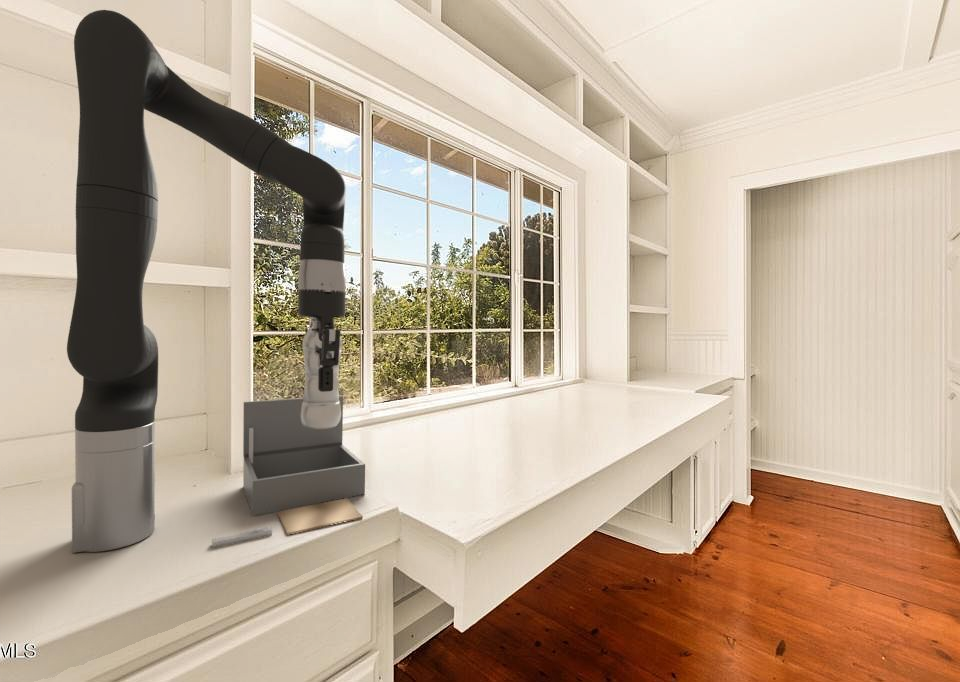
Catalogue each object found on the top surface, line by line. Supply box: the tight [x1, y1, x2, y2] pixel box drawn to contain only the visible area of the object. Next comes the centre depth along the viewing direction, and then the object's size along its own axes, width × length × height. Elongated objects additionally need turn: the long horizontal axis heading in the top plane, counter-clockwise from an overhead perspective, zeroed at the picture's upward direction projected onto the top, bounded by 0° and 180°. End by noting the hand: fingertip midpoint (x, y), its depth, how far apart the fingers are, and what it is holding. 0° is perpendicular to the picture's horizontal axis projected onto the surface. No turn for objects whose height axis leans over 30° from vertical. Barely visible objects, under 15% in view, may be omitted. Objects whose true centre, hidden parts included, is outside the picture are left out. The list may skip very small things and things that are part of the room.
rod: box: [211, 526, 273, 549], centre depth 67 cm, size 8×1×1 cm, turn 124°
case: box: [242, 394, 366, 517], centre depth 87 cm, size 20×16×17 cm
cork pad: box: [277, 498, 363, 536], centre depth 76 cm, size 12×9×1 cm
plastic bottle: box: [300, 317, 343, 430], centre depth 75 cm, size 6×7×20 cm
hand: (320, 388), depth 75 cm, fingers closed on plastic bottle, 5 cm apart
